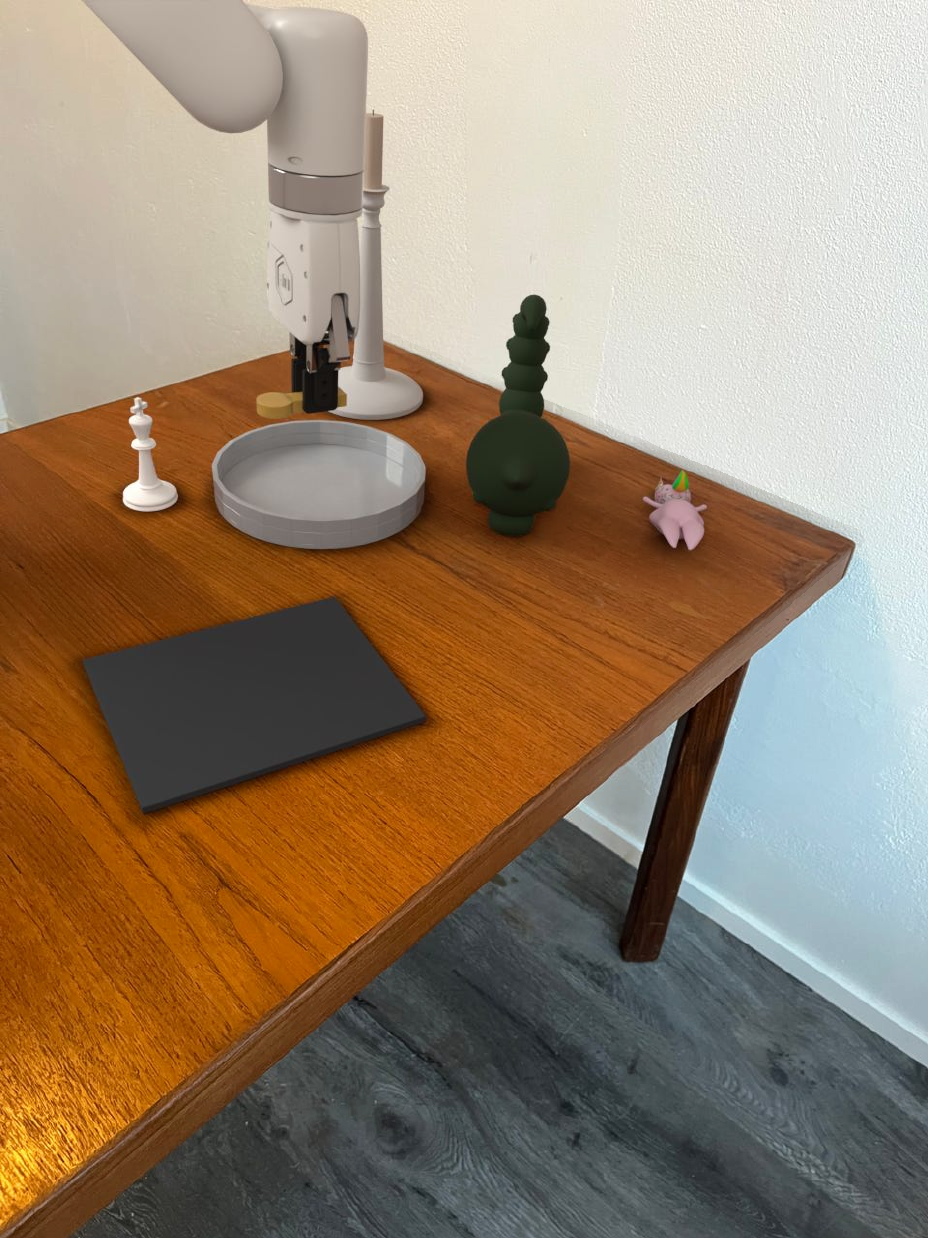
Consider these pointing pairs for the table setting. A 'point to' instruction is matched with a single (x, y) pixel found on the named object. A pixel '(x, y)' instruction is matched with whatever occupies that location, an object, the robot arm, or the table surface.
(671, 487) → the pink stuffed animal
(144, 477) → the chess piece
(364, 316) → the candlestick
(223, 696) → the felt mat
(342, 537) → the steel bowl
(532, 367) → the toy figurine
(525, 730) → the table surface
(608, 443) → the table surface
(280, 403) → the brass key
